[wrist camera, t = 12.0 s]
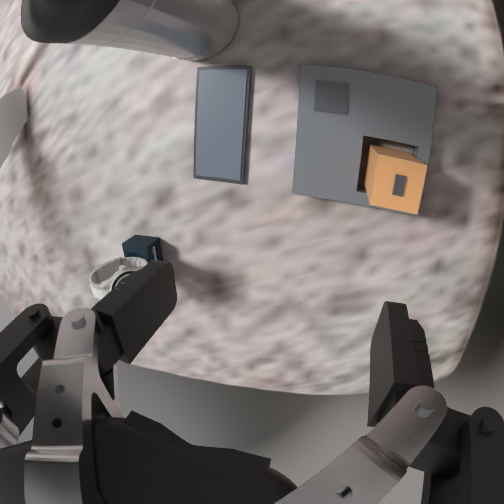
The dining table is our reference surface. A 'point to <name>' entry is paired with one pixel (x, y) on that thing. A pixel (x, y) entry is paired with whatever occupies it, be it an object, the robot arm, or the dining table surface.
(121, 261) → the watch
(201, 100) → the phone
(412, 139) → the outlet plate
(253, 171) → the dining table surface
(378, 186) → the block
